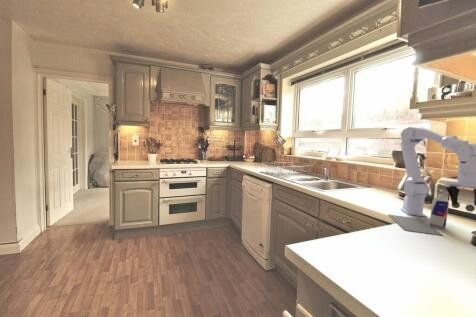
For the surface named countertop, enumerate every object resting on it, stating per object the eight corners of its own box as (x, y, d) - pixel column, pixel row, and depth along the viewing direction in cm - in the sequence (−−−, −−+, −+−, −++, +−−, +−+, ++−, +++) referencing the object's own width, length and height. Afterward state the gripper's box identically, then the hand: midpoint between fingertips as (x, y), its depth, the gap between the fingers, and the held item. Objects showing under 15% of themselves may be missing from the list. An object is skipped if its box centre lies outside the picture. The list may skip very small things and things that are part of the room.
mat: (388, 215, 114) (388, 214, 114) (419, 219, 110) (419, 218, 110) (404, 230, 95) (404, 229, 95) (443, 235, 91) (443, 235, 91)
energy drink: (440, 230, 97) (444, 202, 96) (426, 225, 102) (429, 198, 101) (448, 228, 99) (452, 201, 98) (433, 224, 104) (437, 197, 103)
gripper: (452, 172, 95) (450, 205, 95) (497, 174, 91) (495, 209, 91) (442, 171, 102) (440, 202, 102) (484, 173, 98) (482, 205, 98)
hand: (465, 205), depth 97 cm, fingers open, 7 cm apart
